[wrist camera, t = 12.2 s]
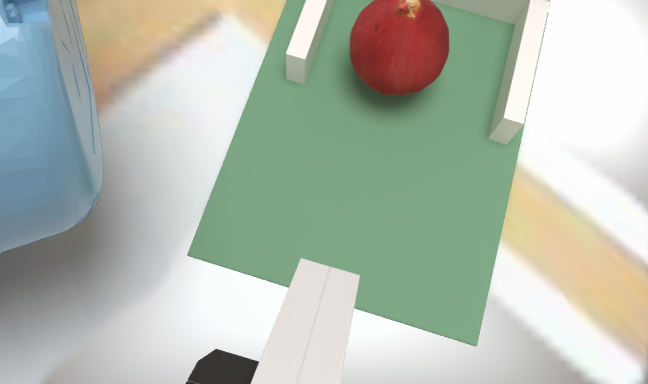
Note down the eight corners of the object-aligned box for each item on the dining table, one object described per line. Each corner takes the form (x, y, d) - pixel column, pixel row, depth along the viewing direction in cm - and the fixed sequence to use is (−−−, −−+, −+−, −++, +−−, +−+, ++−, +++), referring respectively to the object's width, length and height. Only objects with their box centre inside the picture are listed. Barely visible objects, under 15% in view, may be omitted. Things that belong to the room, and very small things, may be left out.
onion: (346, 37, 41) (358, -53, 33) (434, 44, 41) (465, -44, 33) (342, 116, 39) (354, 38, 31) (434, 122, 39) (468, 47, 31)
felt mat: (188, 255, 36) (187, 254, 35) (308, -53, 43) (308, -56, 43) (475, 346, 35) (476, 345, 34) (546, 15, 42) (548, 12, 42)
